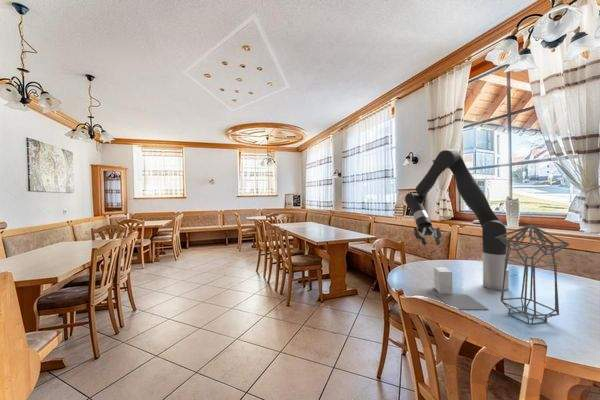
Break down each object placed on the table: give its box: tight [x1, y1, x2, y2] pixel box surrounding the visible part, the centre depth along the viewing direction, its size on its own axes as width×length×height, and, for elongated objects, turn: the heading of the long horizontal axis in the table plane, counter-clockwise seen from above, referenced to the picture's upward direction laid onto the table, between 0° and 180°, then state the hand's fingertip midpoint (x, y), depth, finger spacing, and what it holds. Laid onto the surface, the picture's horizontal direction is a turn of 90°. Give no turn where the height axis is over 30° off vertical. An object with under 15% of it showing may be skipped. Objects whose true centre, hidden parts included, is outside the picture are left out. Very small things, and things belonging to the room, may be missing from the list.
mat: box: [434, 293, 489, 311], centre depth 108 cm, size 14×15×1 cm
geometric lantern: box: [496, 225, 570, 325], centre depth 92 cm, size 16×16×35 cm
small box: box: [433, 266, 454, 294], centre depth 121 cm, size 8×6×10 cm
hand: (431, 244), depth 131 cm, fingers open, 6 cm apart
